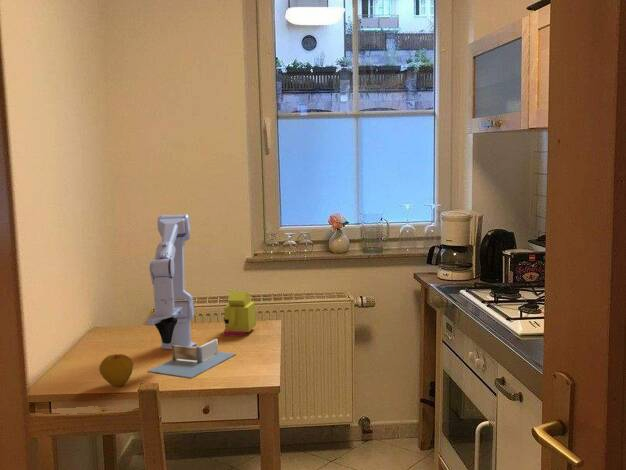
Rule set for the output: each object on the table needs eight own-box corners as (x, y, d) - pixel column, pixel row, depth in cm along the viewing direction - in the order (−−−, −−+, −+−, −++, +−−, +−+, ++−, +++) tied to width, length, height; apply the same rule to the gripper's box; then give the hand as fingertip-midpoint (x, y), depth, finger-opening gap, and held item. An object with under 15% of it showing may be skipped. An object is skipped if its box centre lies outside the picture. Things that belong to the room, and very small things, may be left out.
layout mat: (147, 371, 191) (147, 370, 191) (194, 349, 211) (194, 348, 211) (191, 378, 184) (191, 377, 184) (235, 354, 204) (235, 353, 204)
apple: (93, 389, 178) (91, 357, 177) (114, 378, 186) (112, 348, 185) (120, 392, 175) (118, 360, 174) (140, 381, 183) (138, 350, 182)
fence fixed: (196, 363, 197) (195, 347, 196) (215, 353, 206) (214, 338, 205) (200, 364, 196) (199, 348, 196) (219, 354, 205) (218, 339, 205)
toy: (231, 326, 238) (229, 286, 236) (258, 327, 236) (256, 287, 234) (219, 337, 225) (217, 294, 223) (247, 337, 223) (245, 295, 221)
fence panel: (197, 361, 198) (196, 346, 198) (195, 362, 197) (194, 347, 196) (173, 358, 201) (172, 344, 201) (171, 360, 200) (170, 345, 199)
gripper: (159, 305, 184) (163, 351, 185) (189, 294, 197) (192, 337, 199) (139, 303, 186) (143, 349, 188) (170, 292, 200) (173, 335, 201)
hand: (167, 342), depth 194 cm, fingers closed
